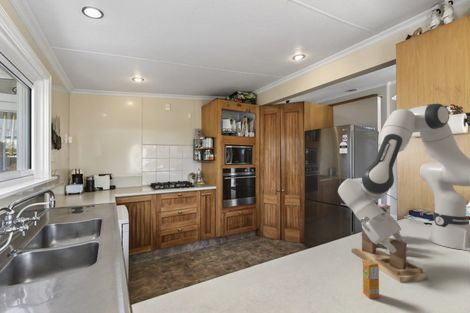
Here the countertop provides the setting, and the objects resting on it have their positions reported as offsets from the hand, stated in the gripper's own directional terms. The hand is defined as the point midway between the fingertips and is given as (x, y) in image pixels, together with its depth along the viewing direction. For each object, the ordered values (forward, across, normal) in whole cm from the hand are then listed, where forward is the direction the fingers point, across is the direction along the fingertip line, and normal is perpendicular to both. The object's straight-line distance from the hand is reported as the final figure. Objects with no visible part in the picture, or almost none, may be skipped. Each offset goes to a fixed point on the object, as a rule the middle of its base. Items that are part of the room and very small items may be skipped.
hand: (399, 248), depth 83 cm
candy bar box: (-7, +33, +19) cm, 39 cm away
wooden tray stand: (+2, +3, +10) cm, 10 cm away
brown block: (+4, 0, +5) cm, 7 cm away
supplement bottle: (+1, +18, +11) cm, 21 cm away
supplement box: (+6, -24, +6) cm, 25 cm away
